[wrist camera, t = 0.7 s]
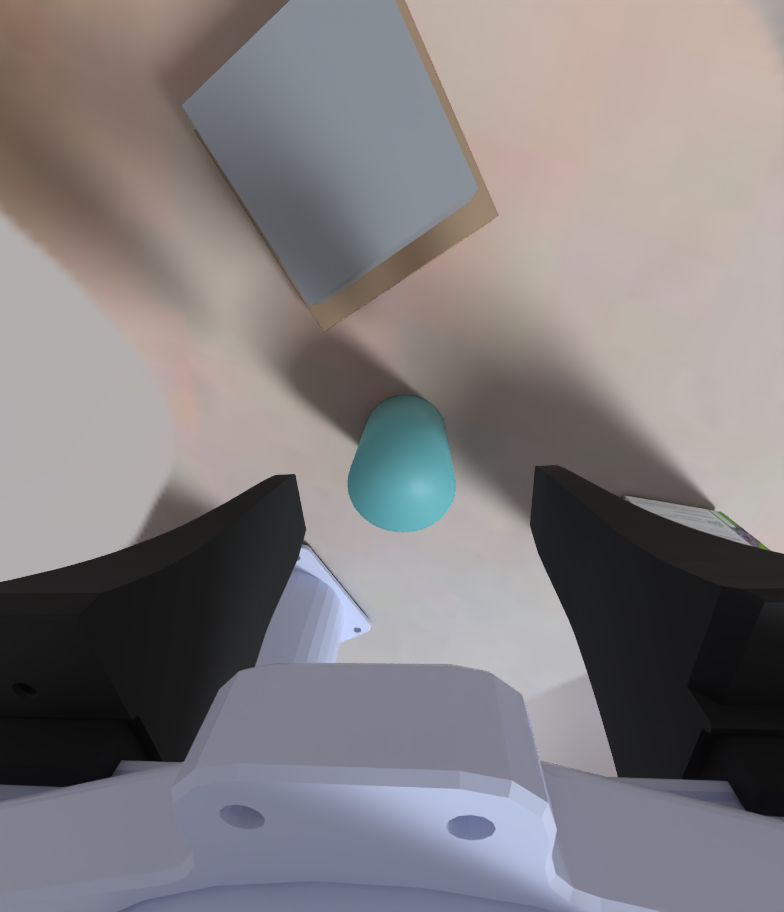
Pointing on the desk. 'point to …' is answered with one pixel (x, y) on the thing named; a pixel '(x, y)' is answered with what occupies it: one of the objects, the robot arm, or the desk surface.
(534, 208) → the desk surface
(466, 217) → the walnut slab
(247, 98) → the grey slab
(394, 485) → the teal capsule
